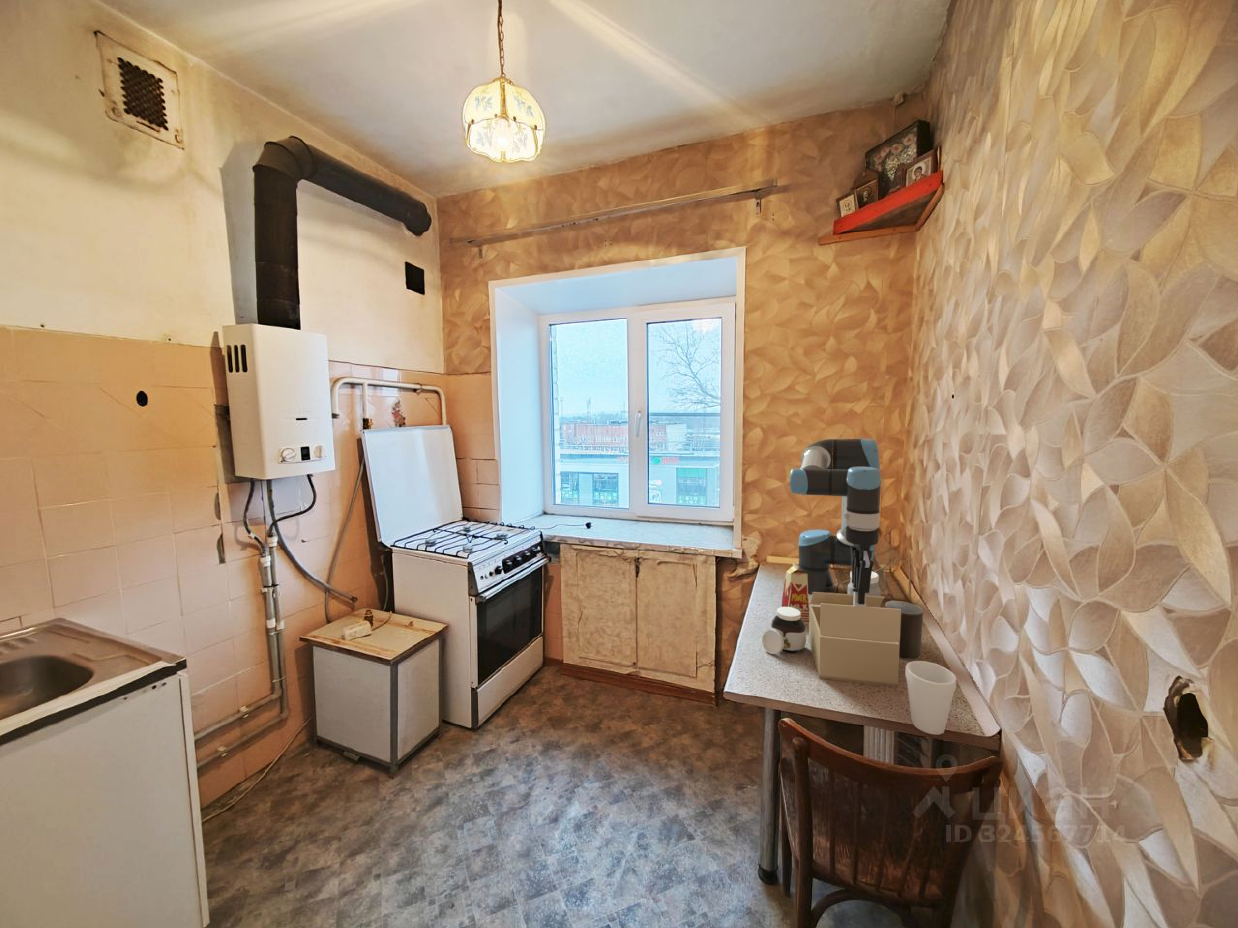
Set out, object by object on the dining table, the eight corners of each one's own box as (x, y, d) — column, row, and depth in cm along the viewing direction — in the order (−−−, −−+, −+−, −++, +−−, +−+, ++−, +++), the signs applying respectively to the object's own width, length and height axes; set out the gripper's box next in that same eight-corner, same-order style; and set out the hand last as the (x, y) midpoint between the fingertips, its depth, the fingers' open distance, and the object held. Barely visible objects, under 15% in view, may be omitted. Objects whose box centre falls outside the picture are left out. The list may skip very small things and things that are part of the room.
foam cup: (894, 712, 108) (896, 662, 106) (930, 709, 108) (933, 659, 107) (924, 741, 98) (927, 686, 97) (964, 737, 99) (967, 682, 98)
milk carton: (812, 625, 152) (813, 568, 150) (784, 623, 154) (784, 567, 151) (807, 613, 161) (808, 559, 158) (780, 611, 163) (780, 558, 160)
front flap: (820, 603, 120) (821, 603, 120) (900, 609, 115) (901, 609, 115) (820, 634, 121) (820, 635, 121) (899, 641, 116) (899, 642, 116)
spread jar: (807, 645, 139) (808, 609, 138) (801, 663, 130) (802, 625, 128) (768, 636, 145) (768, 602, 144) (759, 653, 136) (759, 616, 134)
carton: (808, 641, 141) (809, 605, 140) (875, 647, 136) (877, 610, 135) (819, 678, 122) (820, 636, 121) (897, 687, 117) (899, 644, 116)
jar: (847, 628, 148) (848, 576, 146) (846, 616, 157) (847, 566, 155) (881, 634, 144) (882, 580, 142) (878, 620, 153) (879, 570, 151)
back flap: (884, 597, 128) (884, 596, 128) (813, 592, 133) (812, 591, 133) (877, 609, 135) (877, 607, 135) (809, 604, 140) (809, 602, 140)
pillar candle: (901, 661, 129) (904, 612, 127) (875, 644, 138) (877, 598, 136) (929, 656, 131) (932, 607, 129) (901, 640, 140) (903, 594, 139)
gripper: (840, 520, 122) (838, 602, 125) (852, 533, 110) (849, 624, 113) (871, 521, 120) (868, 604, 123) (886, 534, 108) (882, 626, 111)
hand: (859, 613), depth 118 cm, fingers closed
